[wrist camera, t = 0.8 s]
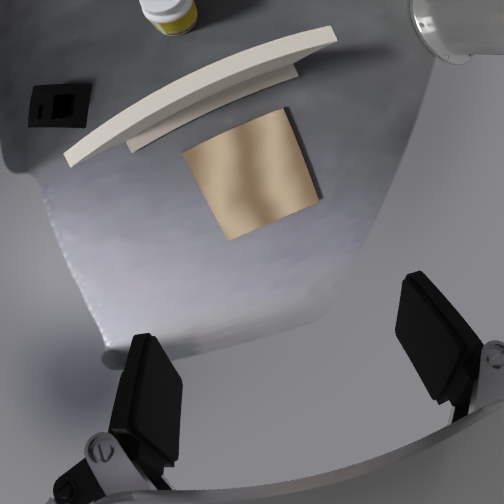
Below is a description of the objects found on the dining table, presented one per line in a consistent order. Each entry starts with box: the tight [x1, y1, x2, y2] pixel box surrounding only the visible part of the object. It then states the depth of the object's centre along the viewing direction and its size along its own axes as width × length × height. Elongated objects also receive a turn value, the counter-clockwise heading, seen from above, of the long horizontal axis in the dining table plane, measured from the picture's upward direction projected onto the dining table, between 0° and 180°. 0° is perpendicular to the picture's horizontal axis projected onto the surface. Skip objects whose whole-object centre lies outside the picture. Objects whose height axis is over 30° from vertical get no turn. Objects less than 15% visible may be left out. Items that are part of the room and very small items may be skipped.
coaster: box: [182, 108, 319, 241], centre depth 32 cm, size 12×12×1 cm
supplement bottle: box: [140, 0, 198, 36], centre depth 19 cm, size 5×5×8 cm
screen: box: [64, 26, 337, 167], centre depth 21 cm, size 20×4×14 cm, turn 114°
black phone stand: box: [28, 84, 92, 128], centre depth 24 cm, size 12×7×5 cm, turn 77°
